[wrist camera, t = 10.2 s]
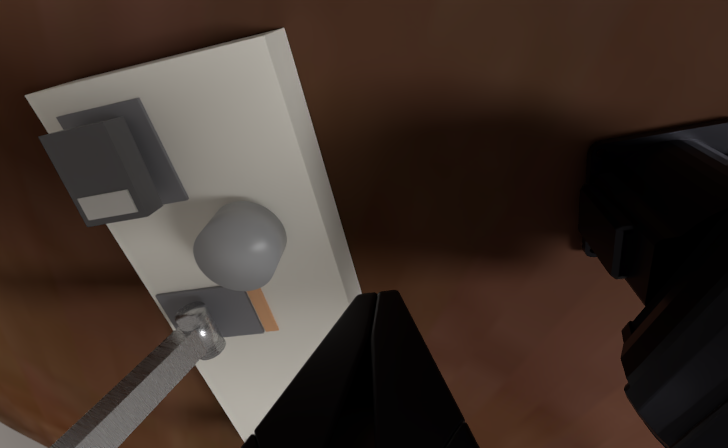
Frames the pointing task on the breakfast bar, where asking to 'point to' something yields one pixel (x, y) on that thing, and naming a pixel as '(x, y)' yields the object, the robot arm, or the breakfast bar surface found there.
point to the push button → (240, 246)
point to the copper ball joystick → (148, 382)
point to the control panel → (226, 202)
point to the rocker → (103, 171)
